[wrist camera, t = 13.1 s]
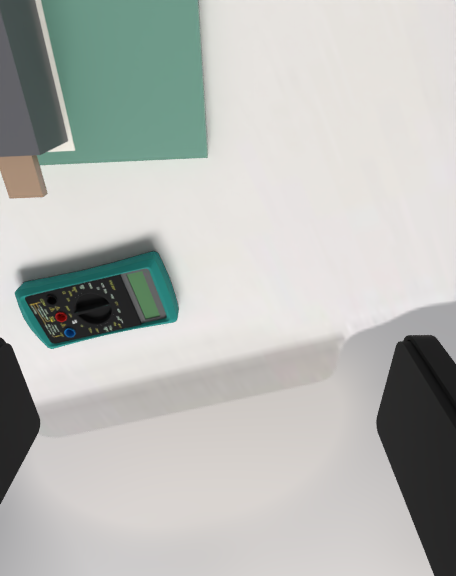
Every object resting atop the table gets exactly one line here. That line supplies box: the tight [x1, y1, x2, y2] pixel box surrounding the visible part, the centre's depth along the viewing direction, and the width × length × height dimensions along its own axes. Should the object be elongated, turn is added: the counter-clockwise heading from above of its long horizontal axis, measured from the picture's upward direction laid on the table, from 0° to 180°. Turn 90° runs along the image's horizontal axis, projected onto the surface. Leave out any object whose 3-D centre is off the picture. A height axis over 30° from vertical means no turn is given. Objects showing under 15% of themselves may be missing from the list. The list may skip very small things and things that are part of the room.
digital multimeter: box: [15, 251, 179, 349], centre depth 38 cm, size 7×15×3 cm, turn 104°
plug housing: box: [0, 0, 68, 198], centre depth 25 cm, size 4×14×6 cm, turn 2°
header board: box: [35, 0, 208, 165], centre depth 26 cm, size 22×14×5 cm, turn 92°
